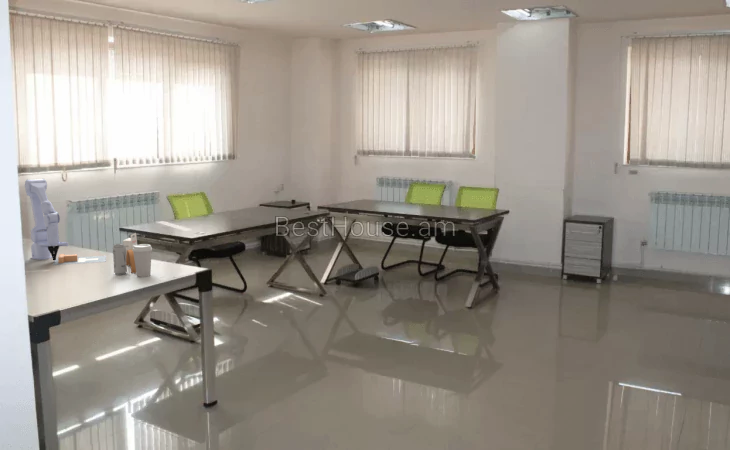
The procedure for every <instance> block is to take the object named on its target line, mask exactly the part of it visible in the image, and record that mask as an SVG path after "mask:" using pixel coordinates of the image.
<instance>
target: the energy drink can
mask: <svg viewBox="0 0 730 450" xmlns="http://www.w3.org/2000/svg"><path fill="white" fill-rule="evenodd" d="M112 258H113V259H112V260H113V273H114V274H115V275H117V276H120V275H123V276H124V275H126V274H127V272H128V270H127V269H128V268H127V264H126V247H125V245H124V244H123V242H122V243H114V244H113V247H112Z"/></svg>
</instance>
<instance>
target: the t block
mask: <svg viewBox="0 0 730 450" xmlns="http://www.w3.org/2000/svg"><path fill="white" fill-rule="evenodd" d="M77 257H78V254H76V253H75V254H65V253H60V254H58V262H59V263H64V262H68V261H77V260H78V258H77Z"/></svg>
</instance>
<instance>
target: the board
mask: <svg viewBox="0 0 730 450" xmlns="http://www.w3.org/2000/svg"><path fill="white" fill-rule="evenodd" d="M77 258H78V260H77V261H68V262H64V263H59V262H58V258H57V257H56V260H53V261H54V262H53V263H52V266H60V265H62V266H63V265H74V264H75V265H76V264H90V263H91V264H94V263H106V262H107V255H94V256H93V255H92V256H77Z"/></svg>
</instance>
